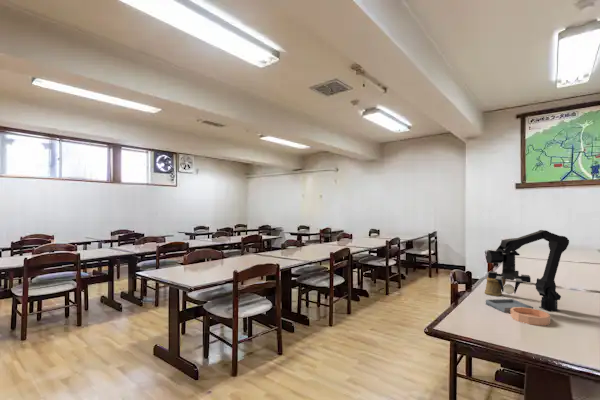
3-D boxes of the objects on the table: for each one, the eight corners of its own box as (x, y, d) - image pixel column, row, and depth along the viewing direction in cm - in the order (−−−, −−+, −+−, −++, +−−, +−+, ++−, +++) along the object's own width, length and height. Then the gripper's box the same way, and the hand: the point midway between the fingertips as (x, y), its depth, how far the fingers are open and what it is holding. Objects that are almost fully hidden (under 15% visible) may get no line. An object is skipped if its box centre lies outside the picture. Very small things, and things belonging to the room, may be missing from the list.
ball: (509, 292, 174) (509, 283, 174) (516, 295, 169) (516, 285, 169) (501, 292, 173) (501, 283, 173) (508, 295, 168) (508, 285, 168)
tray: (512, 303, 179) (512, 299, 179) (533, 311, 165) (533, 307, 165) (485, 304, 177) (485, 299, 177) (504, 312, 163) (504, 307, 163)
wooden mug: (506, 298, 188) (506, 268, 188) (482, 293, 198) (482, 264, 199) (512, 296, 193) (512, 266, 194) (488, 291, 204) (488, 263, 204)
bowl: (531, 313, 162) (531, 306, 162) (558, 324, 147) (558, 317, 147) (503, 314, 160) (503, 307, 160) (528, 325, 145) (528, 318, 145)
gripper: (487, 263, 170) (487, 293, 169) (530, 267, 159) (531, 299, 159) (488, 260, 179) (488, 288, 179) (530, 264, 168) (530, 294, 168)
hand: (508, 292), depth 171 cm, fingers closed on ball, 5 cm apart
